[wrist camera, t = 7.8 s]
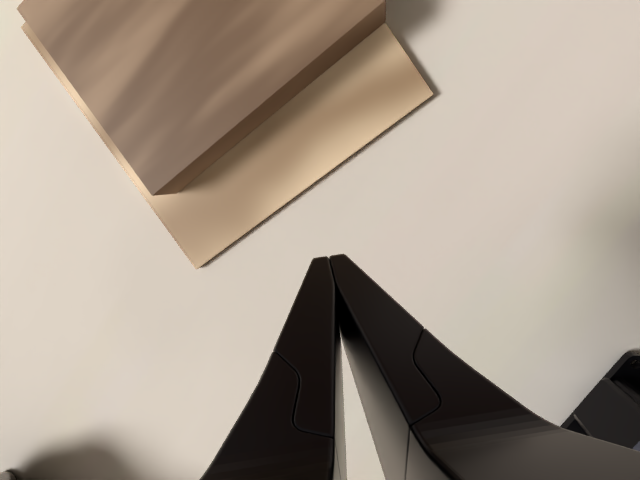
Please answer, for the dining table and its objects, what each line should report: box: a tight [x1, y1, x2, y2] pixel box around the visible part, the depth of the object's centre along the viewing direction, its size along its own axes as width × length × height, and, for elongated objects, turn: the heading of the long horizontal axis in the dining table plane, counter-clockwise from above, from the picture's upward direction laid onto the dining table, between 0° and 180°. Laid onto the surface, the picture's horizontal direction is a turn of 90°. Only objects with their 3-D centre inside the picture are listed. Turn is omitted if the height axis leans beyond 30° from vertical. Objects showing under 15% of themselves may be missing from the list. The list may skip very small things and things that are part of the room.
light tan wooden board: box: [21, 22, 433, 269], centre depth 21 cm, size 18×17×1 cm
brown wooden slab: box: [17, 0, 386, 196], centre depth 19 cm, size 2×15×12 cm
